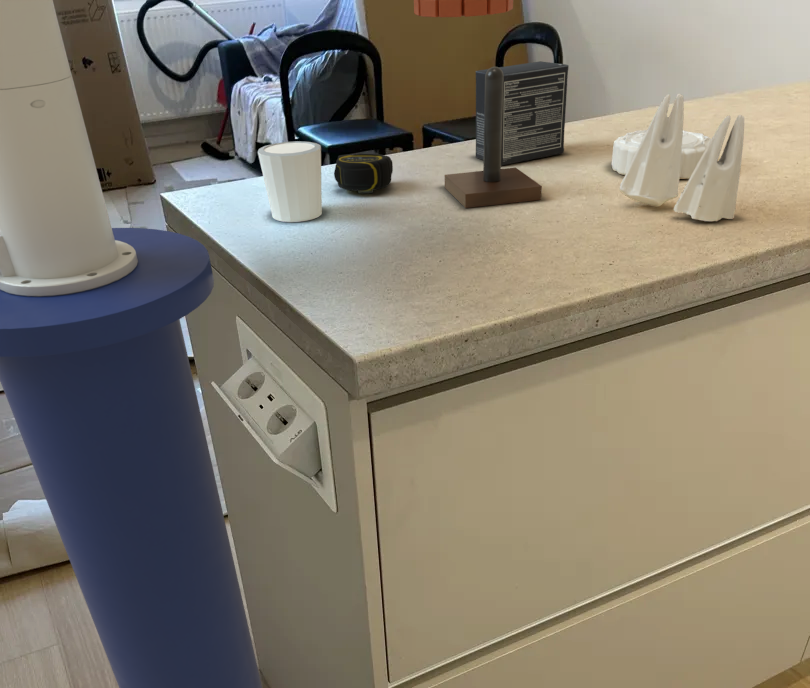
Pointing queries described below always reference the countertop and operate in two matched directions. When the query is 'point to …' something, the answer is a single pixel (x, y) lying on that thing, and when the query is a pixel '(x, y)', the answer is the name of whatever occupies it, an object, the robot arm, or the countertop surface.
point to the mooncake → (630, 142)
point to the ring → (460, 7)
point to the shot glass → (292, 180)
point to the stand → (492, 161)
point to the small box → (527, 111)
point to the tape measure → (363, 172)
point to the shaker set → (661, 160)
